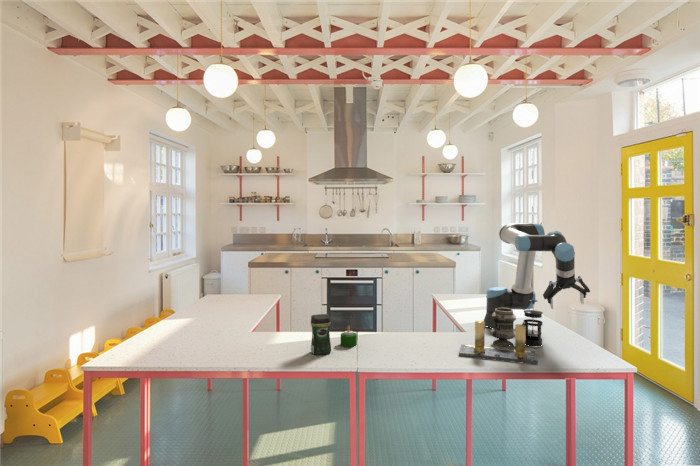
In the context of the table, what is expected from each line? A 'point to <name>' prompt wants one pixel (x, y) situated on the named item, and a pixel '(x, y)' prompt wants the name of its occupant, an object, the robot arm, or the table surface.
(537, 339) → the french press
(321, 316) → the coffee jar
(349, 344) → the candle
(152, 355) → the table surface
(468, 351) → the bolt plate
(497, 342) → the grey brown stone vase
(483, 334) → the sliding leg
